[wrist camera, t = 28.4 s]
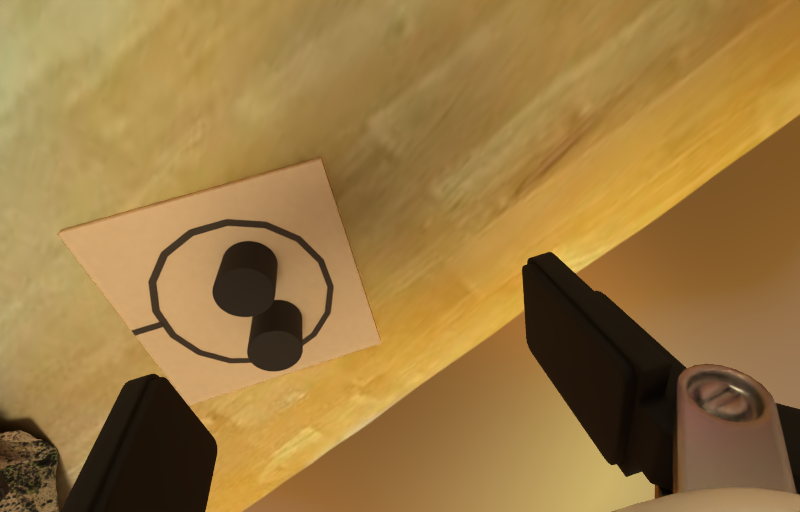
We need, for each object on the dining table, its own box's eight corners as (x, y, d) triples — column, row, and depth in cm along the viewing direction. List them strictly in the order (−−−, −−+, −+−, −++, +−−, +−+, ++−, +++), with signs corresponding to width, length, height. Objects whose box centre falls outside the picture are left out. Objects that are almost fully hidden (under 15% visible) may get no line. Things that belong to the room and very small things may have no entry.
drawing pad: (320, 157, 28) (321, 159, 28) (380, 339, 38) (381, 344, 37) (60, 229, 27) (55, 234, 26) (190, 400, 36) (188, 407, 35)
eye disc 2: (308, 329, 34) (310, 362, 31) (263, 343, 34) (259, 378, 31) (292, 293, 32) (292, 324, 29) (244, 308, 32) (237, 341, 29)
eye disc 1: (285, 277, 32) (283, 307, 28) (235, 292, 31) (228, 324, 28) (266, 234, 29) (261, 260, 26) (212, 249, 29) (201, 278, 26)
